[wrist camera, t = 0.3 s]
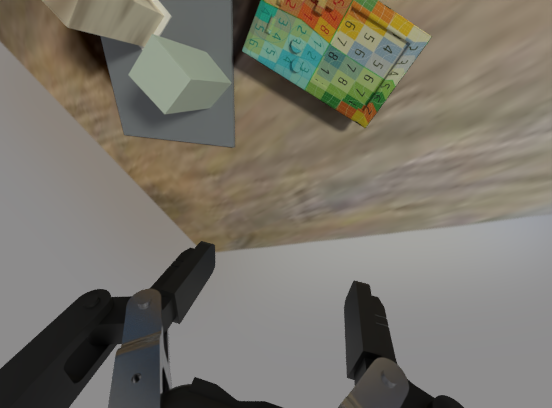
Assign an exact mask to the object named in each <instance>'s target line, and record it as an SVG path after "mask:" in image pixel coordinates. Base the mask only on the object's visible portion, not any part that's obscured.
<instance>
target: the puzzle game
mask: <svg viewBox="0 0 552 408" xmlns="http://www.w3.org/2000/svg"><path fill="white" fill-rule="evenodd" d="M431 38H432V36H430V35H429V34H427V33H426V32H424V31H423V30H421V29H420V28H418V27H417V26H415V25H414V24H412V23H411V22H409V21H408V20H406V19H405V18H404V17H402V16H401V15H399V14H398V13H396V12H395V11H393V10H392V9H390V8H389V7H387V6H386V5H384V4H383V3H381V2H380V1H378V0H260V2H259V5H258V8H257V11H256V13H255V16H254V19H253V22H252V24H251V27H250V30H249V32H248V35H247V38H246V41H245V43H244V46H243V49H242V52H244V53H246V54H247V55H249V56H250V57H252V58H254V59H255V60H257V61H258V62H260V63H262V64H263V65H265V66H266V67H268V68H270V69H271V70H273V71H274V72H276V73H278V74H279V75H281V76H282V77H284V78H286V79H287V80H289V81H290V82H292V83H294V84H295V85H297V86H298V87H300V88H302V89H303V90H305V91H306V92H308V93H310V94H311V95H313V96H314V97H316V98H318V99H319V100H321V101H322V102H324V103H326V104H327V105H329V106H330V107H332V108H334V109H335V110H337V111H338V112H340V113H342V114H343V115H345V116H346V117H348V118H350V119H351V120H353V121H354V122H356V123H358V124H359V125H361V126H362V127H364V128H366V127H367V125H368V124H369V123H370V121H371V120H372V119H373V117H374V116H375V114H376V113H377V112H378V110H379V109H380V108H381V106H382V105H383V103H384V102H385V101H386V99H387V98H388V97H389V95H390V94H391V92H392V91H393V90H394V88H395V87H396V86H397V84H398V83H399V82H400V80H401V79H402V77H403V76H404V75H405V73H406V72H407V71H408V69H409V68H410V66H411V65H412V64H413V62H414V61H415V60H416V58H417V57H418V55H419V54H420V53H421V51H422V50H423V49H424V47H425V46H426V44H427V43H428V42H429V40H430V39H431Z"/></svg>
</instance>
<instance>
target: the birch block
mask: <svg viewBox="0 0 552 408" xmlns="http://www.w3.org/2000/svg"><path fill="white" fill-rule="evenodd" d="M42 1H43V2H44V3H45V4H46V5H47V6H48V7H49V8H50V9H51V11H52V12H53V13H54V14H55V15H56V16H57V17H58V18H59V19H60V20H61V21H62V22H63V23H64V24H65V25H66V26H67V27H68V28H72V29H76V30H80V31H84V32H88V33H92V34H96V35H100V36H104V37H108V38H112V39H116V40H120V41H123V42H127V43H131V44H135V45H139V46H143V47H145V45H146V44H147V42H148V40H149V39H150V37H151V35H152V34H154V32H155V31H156V29H157V27H158V26H159V24H160V22H161V20H162V19H163V17H164V15H163V14H162V13H161V11H160V10H159V9H158V8H157V6H156V5H155V4H154V3H153V2H152V0H42Z"/></svg>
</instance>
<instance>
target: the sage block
mask: <svg viewBox="0 0 552 408" xmlns="http://www.w3.org/2000/svg"><path fill="white" fill-rule="evenodd" d="M128 75H129V76H130V77H131V79H132V80H133V81H134V82H135V83H136V84H137V85H138V86H139V87H140V88H141V89H142V90H143V91H144V93H145V94H146V95H147V96H148V97H149V98H150V99H151V100H152V101H153V102H154V103H155V104H156V106H157V107H158V108H159V109H160V110H161V111H162V112H163V113H164V114H171V113H178V112H186V111H193V110H200V109H207V108H211V107H212V105H213V104H214V103H215V102H216V101H217V100H218V99H219V97H220V96H221V95H222V94H223V93H224V92H225V90H226V89H227V88H228V87H229V86H230V85H231V82H230V80H229V79H228V78H227V77H226V75H225V74H224V73H223V72H222V71H221V69H220V68H219V67H218V66H217V64H216V63H215V62H214V61H213V59H212V58H211V57H210V56H209V54H208V53H207V52H205V51H202V50H199V49H196V48H193V47H190V46H187V45H184V44H181V43H178V42H175V41H172V40H169V39H166V38H163V37H160V36H157V35H154V34H152V35H151V37H150V39H149V40H148V42H147V44H146V45H145V47H144V49H143V50H142V52H141V54H140V56H139V57H138V59H137V61H136V62H135V64H134V66H133V67H132V69H131V71H130V73H129V74H128Z"/></svg>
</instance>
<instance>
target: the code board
mask: <svg viewBox="0 0 552 408" xmlns="http://www.w3.org/2000/svg"><path fill="white" fill-rule="evenodd" d="M152 2H153V3H154V4H155V5H156V6H157V8H158V9H159V10H160V11H161V13H162V14H163V15H164V17H163V19H162V20H161V22H160V24H159V26H158V27H157V29H156V31H155V32H154V35H157V36H160V37H163V38H166V39H169V40H172V41H175V42H178V43H181V44H184V45H187V46H190V47H193V48H196V49H199V50H202V51H205V52H207V53H208V54H209V56H210V57H211V58H212V59H213V61H214V62H215V63H216V64H217V66H218V67H219V68H220V69H221V71H222V72H223V73H224V74H225V75H226V77H227V78H228V79H229V80H230V82H231V85H230V86H229V87H228V88H227V89H226V90H225V92H224V93H223V94H222V95H221V96H220V97H219V99H218V100H217V101H216V102H215V103H214V104H213V105H212V107H211V108H207V109H200V110H193V111H186V112H178V113H171V114H164V113H163V112H162V111H161V110H160V109H159V108H158V107H157V106H156V104H155V103H154V102H153V101H152V100H151V99H150V98H149V97H148V96H147V95H146V94H145V93H144V91H143V90H142V89H141V88H140V87H139V86H138V85H137V84H136V83H135V82H134V81H133V80H132V79H131V77H130V76H129V75H128V74H129V73H130V71H131V69H132V67H133V66H134V64H135V62H136V61H137V59H138V57H139V56H140V54H141V52H142V50H143V49H144V47H143V46H139V45H135V44H131V43H127V42H123V41H120V40H116V39H112V38H108V37H104V36H101V41H102V45H103V49H104V53H105V57H106V61H107V65H108V69H109V74H110V78H111V82H112V86H113V90H114V94H115V98H116V102H117V107H118V111H119V115H120V119H121V123H122V127H123V131H124V135H130V136H139V137H148V138H156V139H165V140H174V141H183V142H191V143H200V144H209V145H217V146H226V147H235V116H234V66H233V16H232V0H152Z"/></svg>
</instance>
